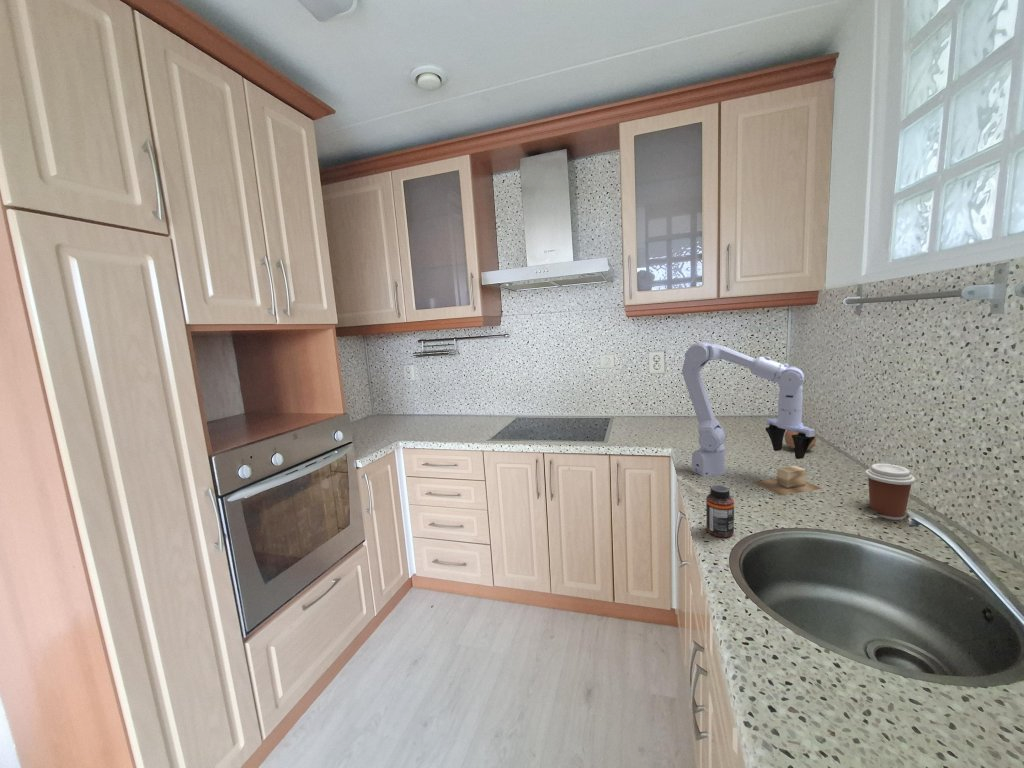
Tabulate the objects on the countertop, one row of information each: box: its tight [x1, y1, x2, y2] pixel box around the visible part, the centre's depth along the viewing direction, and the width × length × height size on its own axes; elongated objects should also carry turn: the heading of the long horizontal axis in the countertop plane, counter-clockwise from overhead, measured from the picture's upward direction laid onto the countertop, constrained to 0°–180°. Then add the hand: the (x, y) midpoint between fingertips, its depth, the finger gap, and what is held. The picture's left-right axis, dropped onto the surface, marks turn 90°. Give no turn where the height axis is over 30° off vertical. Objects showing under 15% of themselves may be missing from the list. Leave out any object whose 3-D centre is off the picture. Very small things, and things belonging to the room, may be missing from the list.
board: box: [752, 477, 823, 496], centre depth 116 cm, size 14×10×1 cm
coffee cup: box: [864, 463, 917, 521], centre depth 98 cm, size 9×9×12 cm
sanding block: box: [776, 465, 807, 489], centre depth 116 cm, size 6×4×5 cm, turn 100°
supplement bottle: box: [705, 484, 735, 539], centre depth 95 cm, size 6×6×11 cm
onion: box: [784, 424, 817, 451], centre depth 147 cm, size 10×9×10 cm
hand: (788, 454), depth 116 cm, fingers open, 7 cm apart
